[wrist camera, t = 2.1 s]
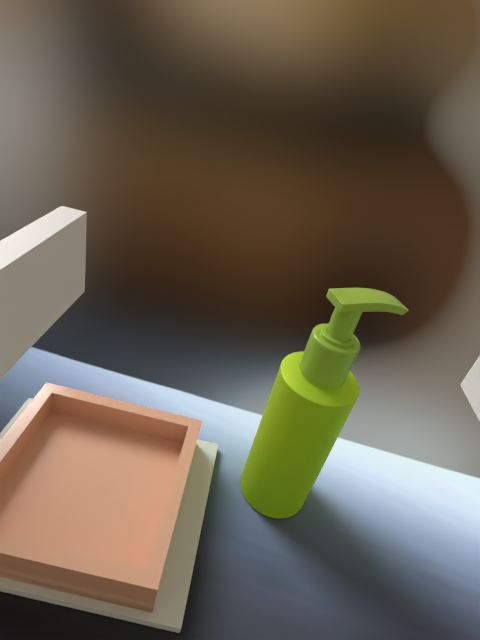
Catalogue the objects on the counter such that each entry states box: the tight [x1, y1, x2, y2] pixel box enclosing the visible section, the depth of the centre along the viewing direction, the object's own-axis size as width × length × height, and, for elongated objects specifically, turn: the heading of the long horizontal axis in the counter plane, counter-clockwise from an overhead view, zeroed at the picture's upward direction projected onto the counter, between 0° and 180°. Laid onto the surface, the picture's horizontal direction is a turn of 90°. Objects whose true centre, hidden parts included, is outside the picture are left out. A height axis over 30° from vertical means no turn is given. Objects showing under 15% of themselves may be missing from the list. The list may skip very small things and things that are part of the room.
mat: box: [0, 398, 218, 633], centre depth 32 cm, size 18×15×1 cm
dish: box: [0, 382, 202, 613], centre depth 31 cm, size 14×14×3 cm
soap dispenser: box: [241, 288, 408, 519], centre depth 32 cm, size 6×7×20 cm
